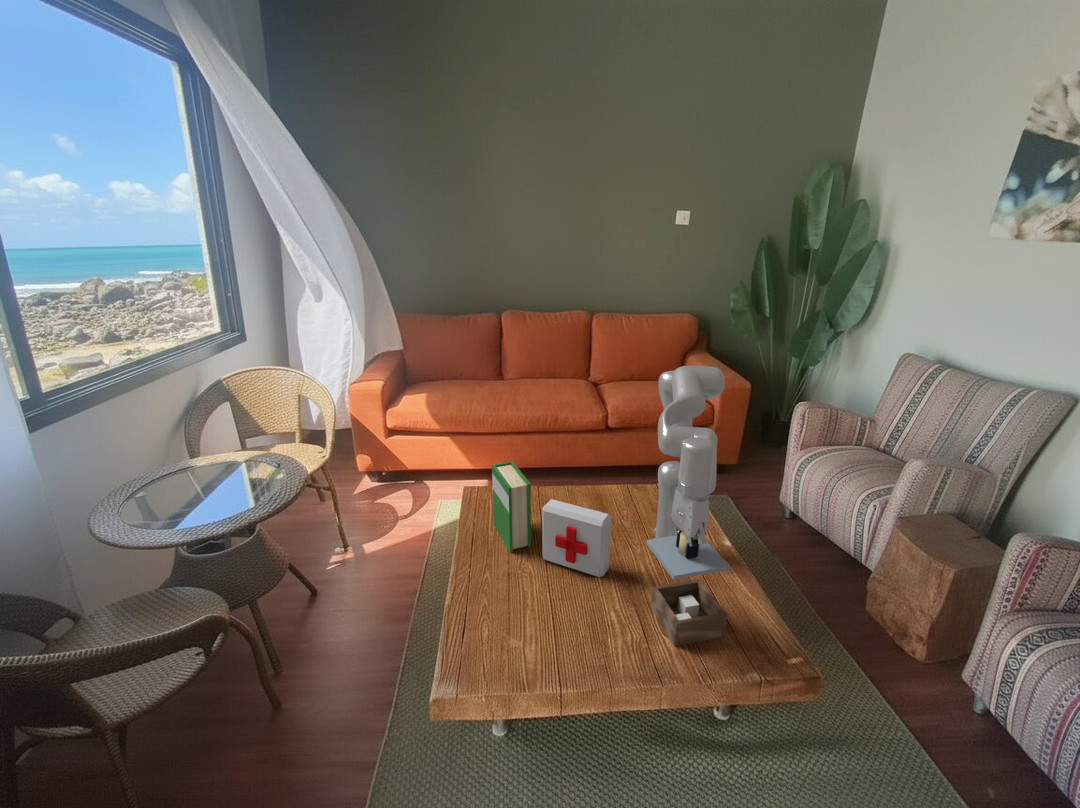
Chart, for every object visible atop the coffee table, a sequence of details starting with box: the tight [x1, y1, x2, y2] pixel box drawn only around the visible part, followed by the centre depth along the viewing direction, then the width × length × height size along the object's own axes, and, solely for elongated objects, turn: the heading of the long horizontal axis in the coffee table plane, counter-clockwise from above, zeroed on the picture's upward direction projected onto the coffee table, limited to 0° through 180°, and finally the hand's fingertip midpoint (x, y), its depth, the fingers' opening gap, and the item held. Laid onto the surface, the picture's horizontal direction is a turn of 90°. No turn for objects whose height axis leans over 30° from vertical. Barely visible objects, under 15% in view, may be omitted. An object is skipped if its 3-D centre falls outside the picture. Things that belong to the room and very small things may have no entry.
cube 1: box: [677, 595, 699, 618], centre depth 140 cm, size 4×4×4 cm
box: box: [650, 579, 728, 647], centre depth 136 cm, size 14×14×8 cm
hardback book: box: [491, 460, 532, 554], centre depth 173 cm, size 18×7×24 cm, turn 22°
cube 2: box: [675, 613, 691, 620], centre depth 133 cm, size 4×4×4 cm
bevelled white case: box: [541, 498, 612, 578], centre depth 158 cm, size 21×8×20 cm, turn 62°
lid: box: [645, 532, 731, 581], centre depth 130 cm, size 15×15×6 cm
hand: (686, 551), depth 130 cm, fingers closed on lid, 4 cm apart
